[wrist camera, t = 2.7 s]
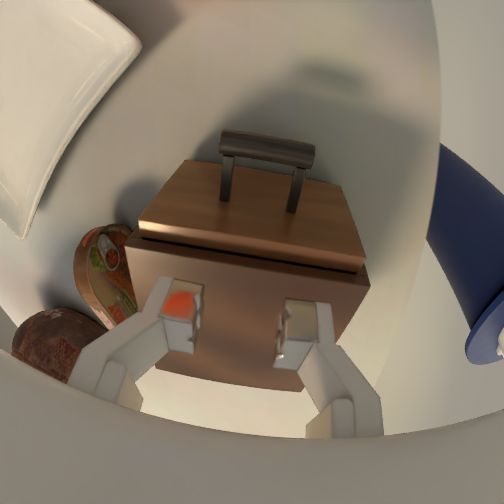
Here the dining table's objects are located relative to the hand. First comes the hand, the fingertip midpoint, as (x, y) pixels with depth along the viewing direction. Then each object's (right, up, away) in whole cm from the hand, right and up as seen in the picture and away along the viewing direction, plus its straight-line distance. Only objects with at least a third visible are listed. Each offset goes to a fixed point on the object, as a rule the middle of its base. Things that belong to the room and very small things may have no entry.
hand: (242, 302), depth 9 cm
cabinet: (0, +2, +18) cm, 18 cm away
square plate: (-25, +20, +7) cm, 33 cm away
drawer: (+1, +4, +15) cm, 15 cm away
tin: (-12, 0, +21) cm, 24 cm away
